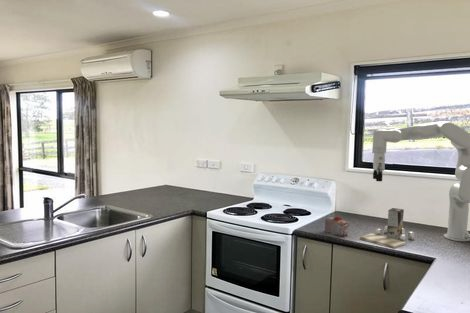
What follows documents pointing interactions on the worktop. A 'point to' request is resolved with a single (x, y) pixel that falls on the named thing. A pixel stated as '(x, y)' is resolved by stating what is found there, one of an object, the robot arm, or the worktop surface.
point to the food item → (336, 226)
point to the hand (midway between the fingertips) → (377, 180)
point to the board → (383, 240)
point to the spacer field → (402, 236)
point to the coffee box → (395, 223)
